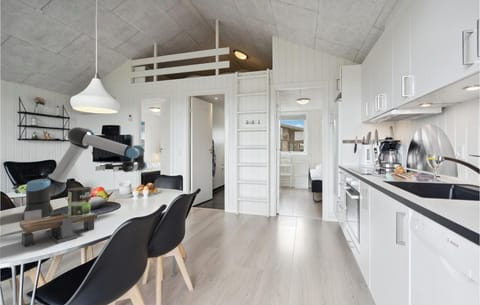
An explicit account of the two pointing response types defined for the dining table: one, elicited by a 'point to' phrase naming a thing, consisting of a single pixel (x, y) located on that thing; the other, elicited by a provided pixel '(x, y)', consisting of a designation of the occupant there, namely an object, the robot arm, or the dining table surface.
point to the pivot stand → (58, 231)
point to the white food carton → (32, 215)
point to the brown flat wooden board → (52, 222)
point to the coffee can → (79, 201)
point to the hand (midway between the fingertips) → (104, 168)
